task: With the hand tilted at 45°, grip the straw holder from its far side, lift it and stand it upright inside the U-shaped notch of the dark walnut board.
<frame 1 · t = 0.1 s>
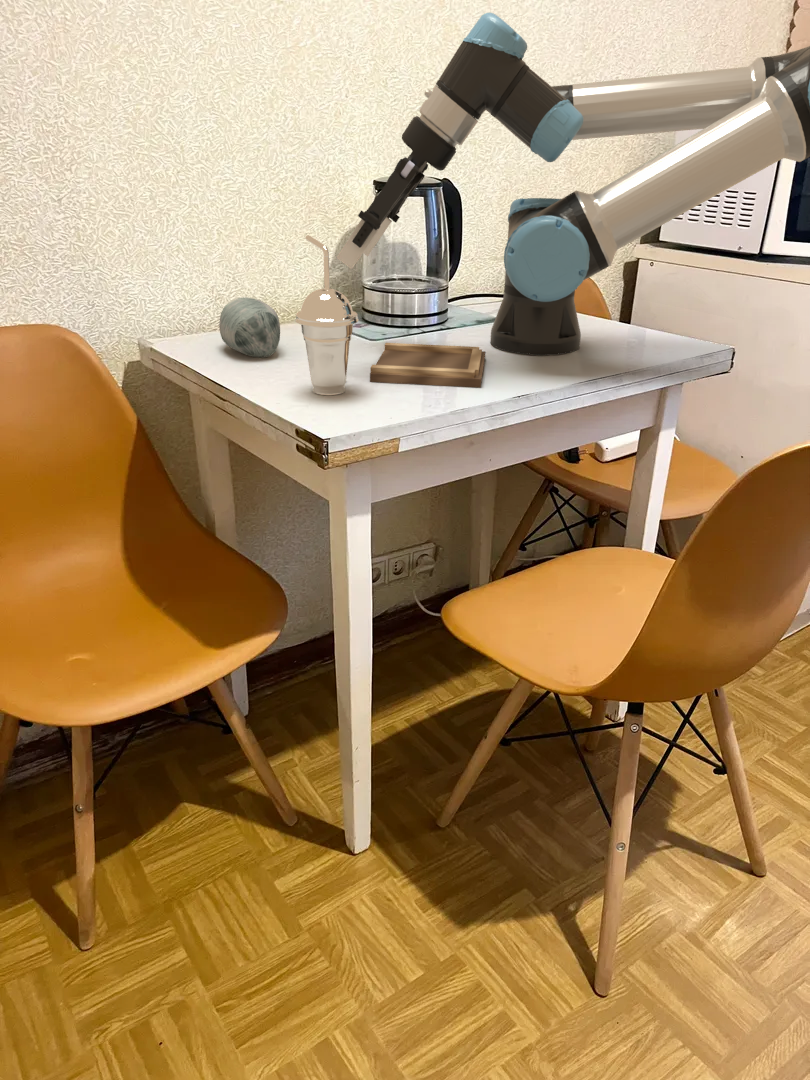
hand: (352, 256, 124), 15 cm above the table, fingers open, 13 cm apart
cup with straw: (328, 391, 115), on the table
spool: (251, 352, 133), on the table
notched board: (430, 369, 125), on the table
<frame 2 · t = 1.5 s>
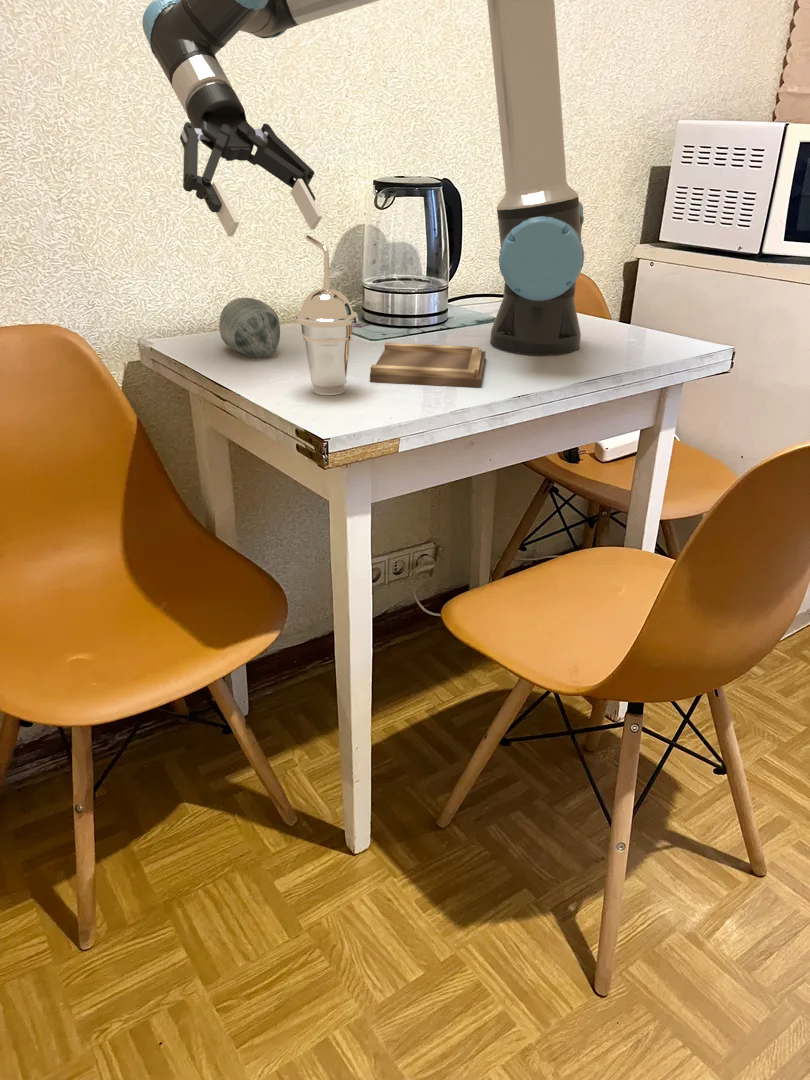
hand: (277, 226, 112), 21 cm above the table, fingers open, 13 cm apart
nothing on the table moved.
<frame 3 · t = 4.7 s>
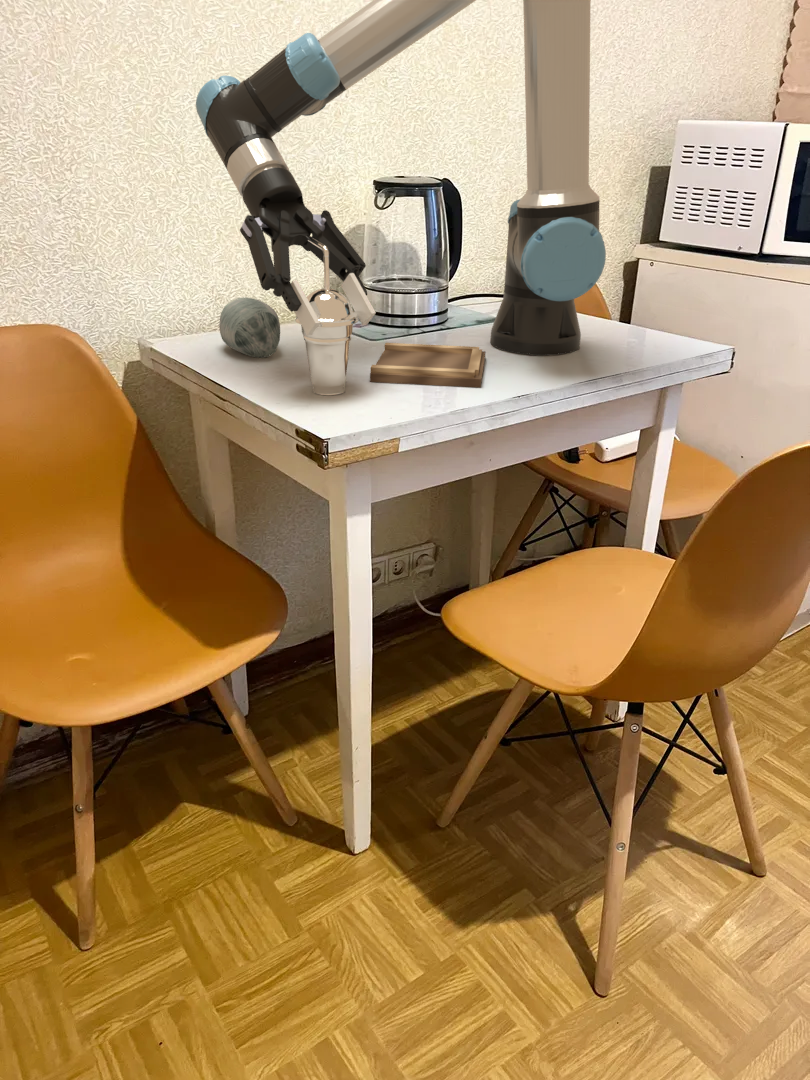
hand: (342, 323, 108), 10 cm above the table, fingers closed on cup with straw, 9 cm apart
cup with straw: (328, 391, 115), on the table, touching gripper
everything else where it was.
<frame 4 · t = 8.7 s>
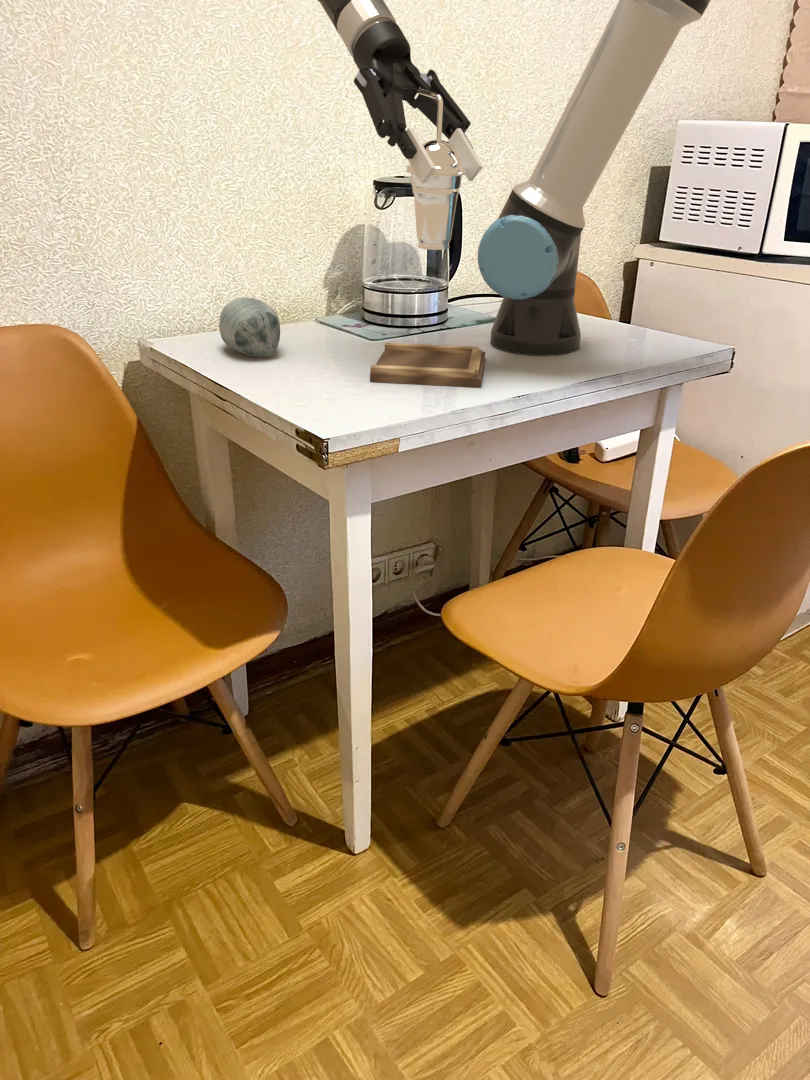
hand: (452, 174, 110), 27 cm above the table, fingers closed on cup with straw, 8 cm apart
cup with straw: (433, 248, 117), point 18 cm above the table, touching gripper
everything else where it was.
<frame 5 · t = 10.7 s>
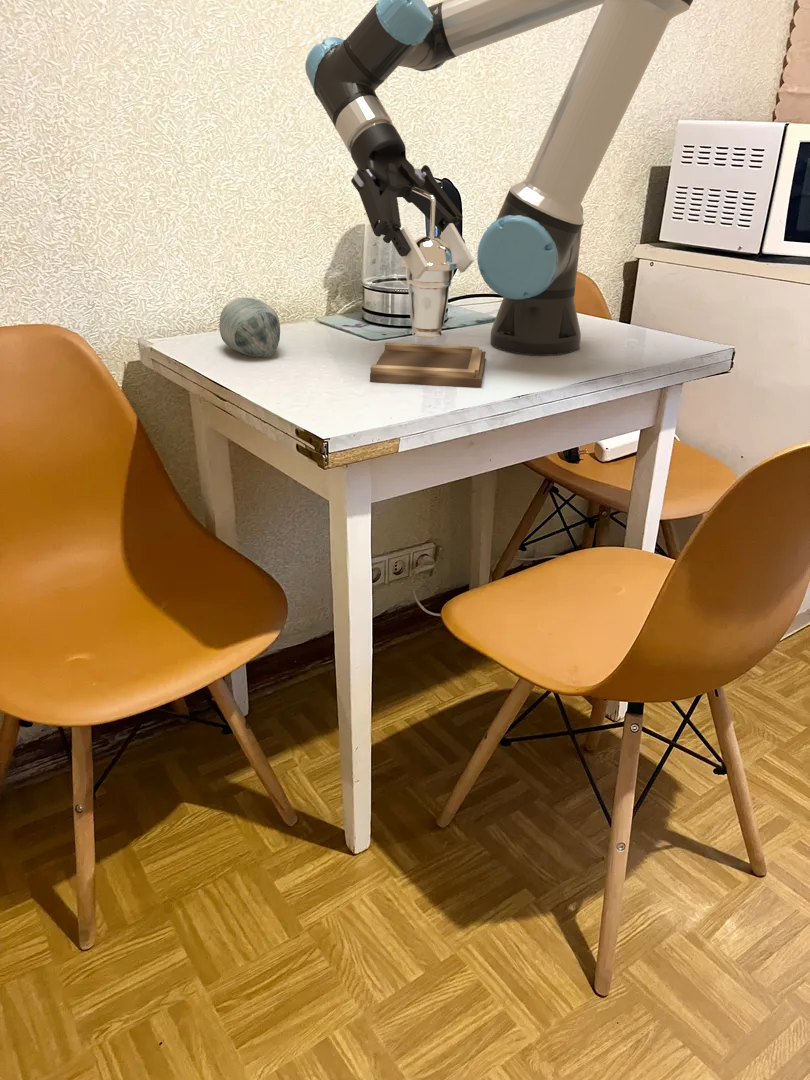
hand: (445, 269, 116), 15 cm above the table, fingers closed on cup with straw, 8 cm apart
cup with straw: (426, 334, 123), point 5 cm above the table, touching gripper
everything else where it was.
when the fingers open (12 cm above the table, at t = 12.3 s): cup with straw drops 1 cm, resting on notched board.
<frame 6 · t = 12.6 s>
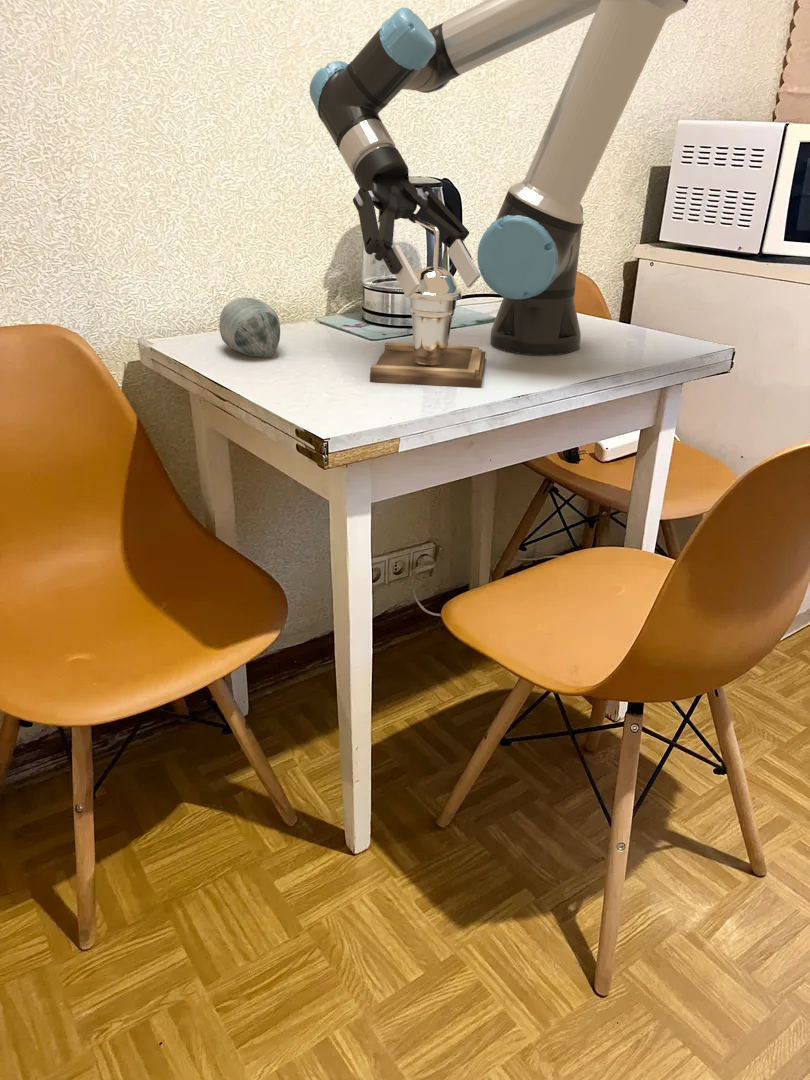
hand: (444, 286, 117), 13 cm above the table, fingers open, 11 cm apart
cup with straw: (429, 362, 124), point 1 cm above the table, touching notched board
everything else where it was.
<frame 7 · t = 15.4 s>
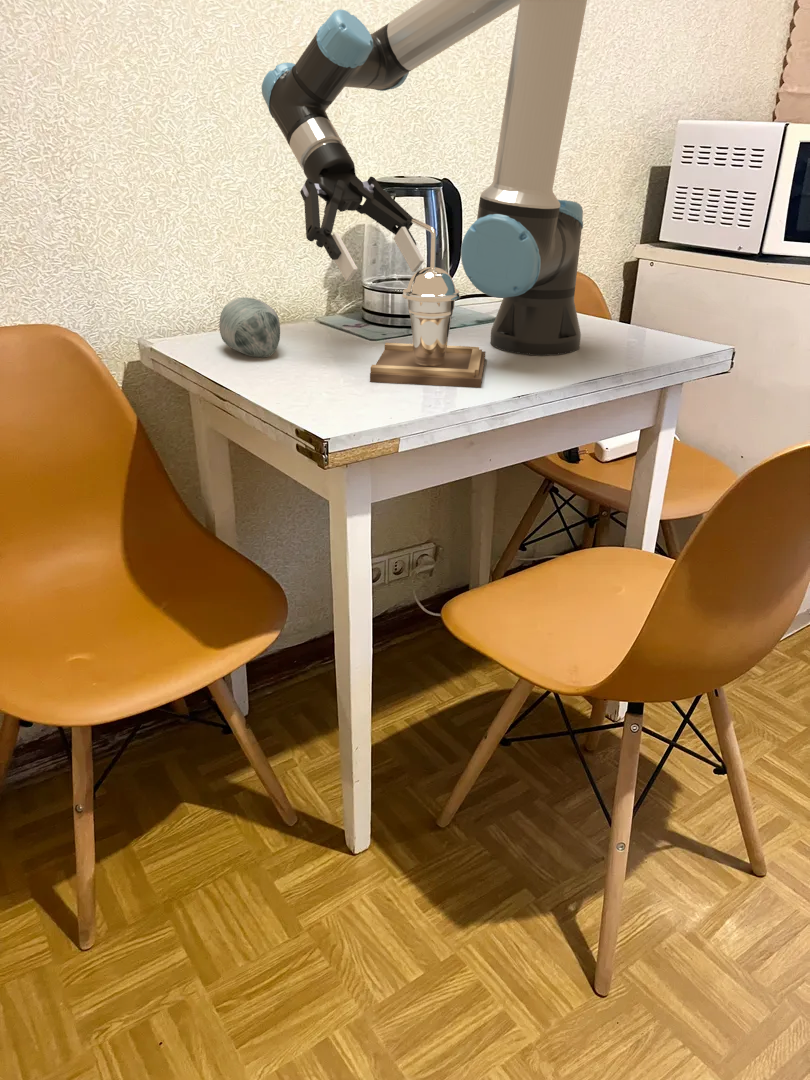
hand: (386, 270, 125), 13 cm above the table, fingers open, 13 cm apart
nothing on the table moved.
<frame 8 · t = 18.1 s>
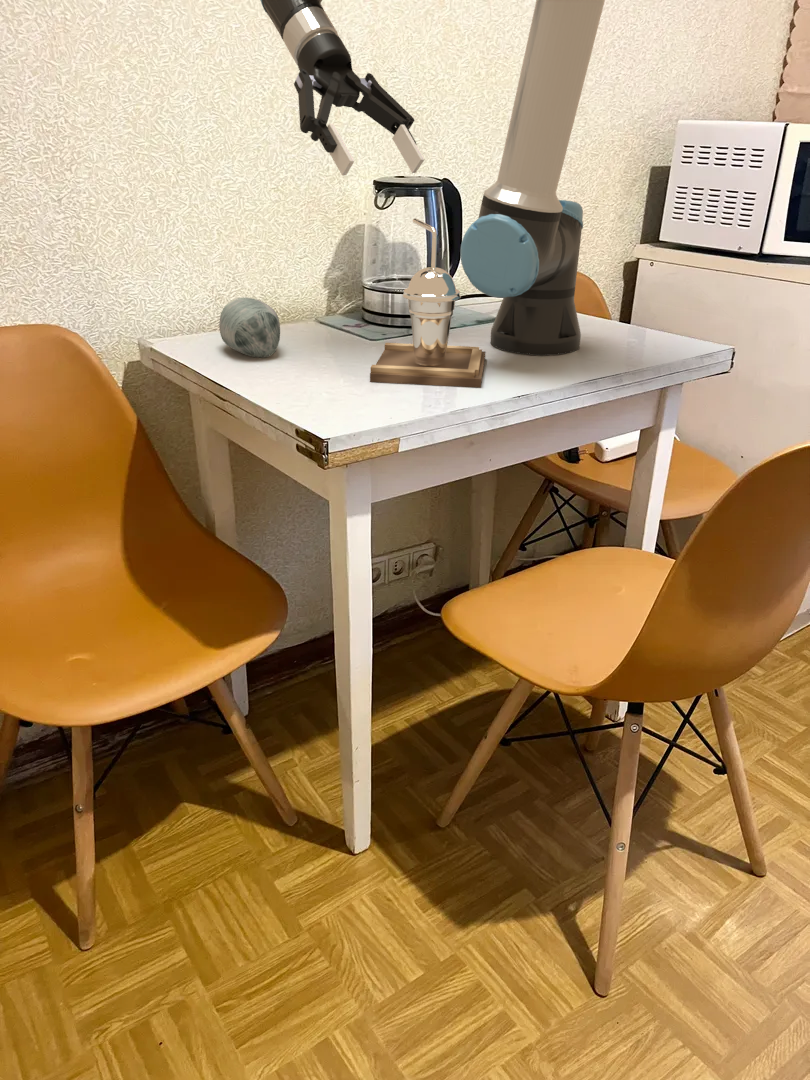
hand: (384, 167, 119), 28 cm above the table, fingers open, 13 cm apart
nothing on the table moved.
at the end: cup with straw inside the target area on the notched board (0.2 cm from its centre), point 1.0 cm above the notched board's base; cup with straw tilted 0°; the gripper is holding nothing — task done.
